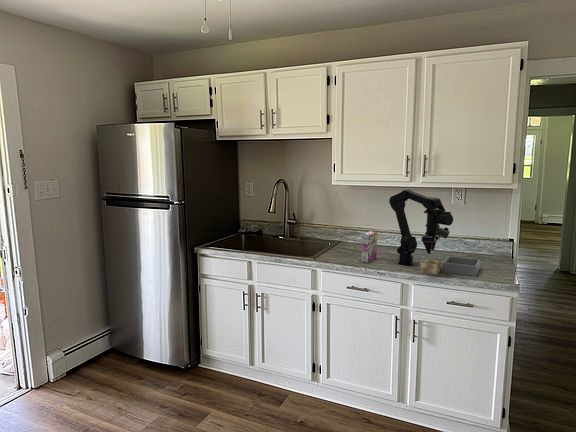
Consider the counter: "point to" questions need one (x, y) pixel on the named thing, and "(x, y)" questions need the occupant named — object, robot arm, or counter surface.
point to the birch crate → (430, 266)
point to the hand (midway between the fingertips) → (430, 251)
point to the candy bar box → (369, 247)
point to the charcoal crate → (461, 265)
